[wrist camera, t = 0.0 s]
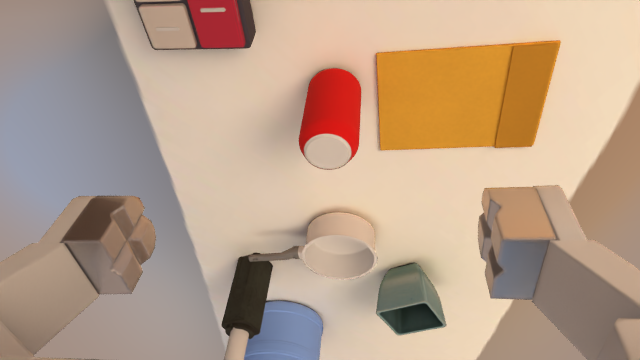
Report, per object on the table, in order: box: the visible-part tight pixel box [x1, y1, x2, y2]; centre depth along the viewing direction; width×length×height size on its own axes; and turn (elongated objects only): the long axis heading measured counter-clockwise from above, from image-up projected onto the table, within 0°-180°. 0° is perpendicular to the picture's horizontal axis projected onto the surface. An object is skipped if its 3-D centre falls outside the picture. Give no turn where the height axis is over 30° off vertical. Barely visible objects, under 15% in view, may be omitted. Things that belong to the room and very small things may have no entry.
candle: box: [222, 253, 273, 360], centre depth 73 cm, size 5×5×25 cm
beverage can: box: [299, 68, 361, 170], centre depth 50 cm, size 6×6×12 cm
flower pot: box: [376, 263, 446, 335], centre depth 77 cm, size 9×9×9 cm
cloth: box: [376, 41, 561, 150], centre depth 54 cm, size 14×19×1 cm
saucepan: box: [248, 212, 377, 280], centre depth 72 cm, size 12×20×6 cm, turn 98°
